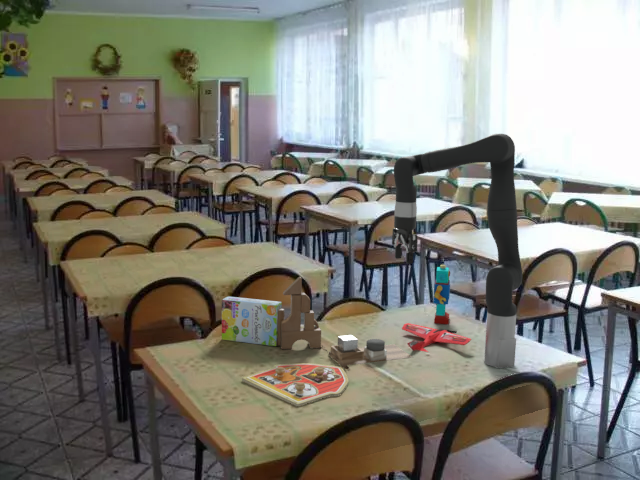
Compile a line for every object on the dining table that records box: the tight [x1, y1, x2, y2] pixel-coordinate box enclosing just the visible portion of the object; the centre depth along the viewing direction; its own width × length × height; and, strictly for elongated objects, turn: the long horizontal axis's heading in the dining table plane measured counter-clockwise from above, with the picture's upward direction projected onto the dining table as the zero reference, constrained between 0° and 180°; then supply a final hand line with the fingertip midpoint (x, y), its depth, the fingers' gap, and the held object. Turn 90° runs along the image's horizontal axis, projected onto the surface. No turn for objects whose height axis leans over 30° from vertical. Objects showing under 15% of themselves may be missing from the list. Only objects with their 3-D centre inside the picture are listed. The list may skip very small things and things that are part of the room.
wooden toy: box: [277, 276, 322, 350], centre depth 258 cm, size 16×7×25 cm, turn 99°
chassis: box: [328, 343, 413, 370], centre depth 250 cm, size 14×24×4 cm, turn 111°
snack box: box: [221, 296, 283, 347], centre depth 263 cm, size 21×6×15 cm, turn 72°
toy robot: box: [433, 258, 451, 325], centre depth 291 cm, size 12×6×25 cm, turn 168°
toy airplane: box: [401, 322, 472, 353], centre depth 262 cm, size 27×27×5 cm
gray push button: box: [365, 338, 386, 351], centre depth 247 cm, size 6×6×5 cm
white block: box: [337, 334, 359, 353], centre depth 248 cm, size 5×5×6 cm
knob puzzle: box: [241, 362, 349, 407], centre depth 228 cm, size 29×30×4 cm
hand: (403, 260), depth 259 cm, fingers open, 8 cm apart
